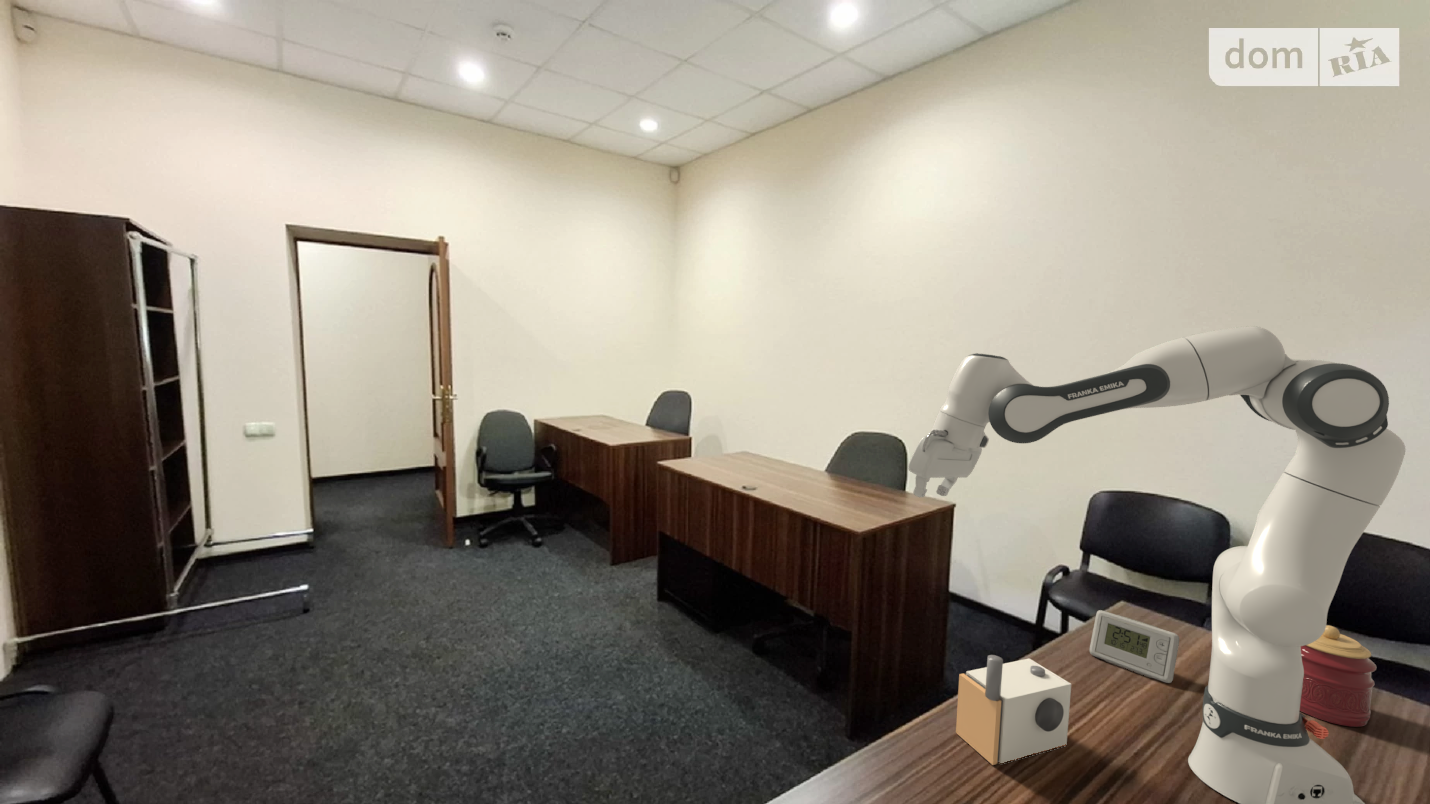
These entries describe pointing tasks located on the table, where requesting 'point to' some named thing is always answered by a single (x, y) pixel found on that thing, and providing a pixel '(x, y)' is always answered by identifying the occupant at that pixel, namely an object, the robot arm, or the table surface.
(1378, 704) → the table surface
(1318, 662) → the canister
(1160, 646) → the digital clock
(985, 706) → the wooden flat board
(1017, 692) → the camera case
